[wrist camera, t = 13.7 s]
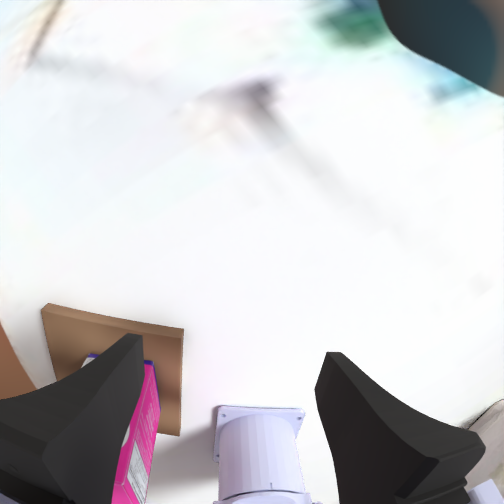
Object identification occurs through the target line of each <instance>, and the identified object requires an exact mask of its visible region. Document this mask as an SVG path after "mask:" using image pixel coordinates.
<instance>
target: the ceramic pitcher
mask: <svg viewBox="0 0 504 504" xmlns="http://www.w3.org/2000/svg"><path fill="white" fill-rule="evenodd" d="M468 430H470V431H474V432H476V433H477V434H478V435H479V437H480V438H481V440H482V441H483V443H484V444H485V446H486V451H485V454H484V455H483V457H482V458H481V460H480V461H479V462H478V463H477V464H476V466H475V467H474V468H473V469H472V470H471V471H470V472H469V473H468V474H467V475H466V476H465V479H466V480H467V482H468V483H467V485H466V486H465V487H464V488H465V490H466V492H467V491H469V490H470V489H472V488H473V487H475V486H477V485H479V484H481V483H483V482H485V481H487V480H489V479H492V480H493V482H494V484H495V485H496V487H497V489H498V490H499V492H500V494H501V495H502V497H503V499H504V399H503V400H501V401H498V402H496V403H494V404H493V406H492V407H491V408H490V409H489V410H488V411H487V412H486V413H485V414H483V415H482V416H481V417H480V418H479V419H478V420H477V421H476V422H475V423H474V424H473V425H472V426H471V427H470V428H469V429H468Z"/></svg>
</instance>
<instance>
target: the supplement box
mask: <svg viewBox="0 0 504 504" xmlns="http://www.w3.org/2000/svg"><path fill="white" fill-rule="evenodd" d="M97 356H99V355H97V354H90V353H89V354H88V357H87V358H86V360H85V362H84V363H83V365H82V367H83V366H85V365H86V364H88V363H89V362H91V361H92V360H93V359H95V358H96V357H97ZM82 367H81V368H82ZM144 367H145V378H144V382H143V386H142V390H141V394H140V398H139V400H138V403H137V406H136V408H135V411H134V414H133V416H132V419H131V421H130V424H129V427H128V429H127V432H126V435H125V438H124V441H123V444H122V447H121V452H120V456H119V461H118V466H117V471H116V477H115V482H114V489H113V496H112V504H145V500H146V493H147V486H148V480H149V474H150V468H151V461H152V455H153V450H154V444H155V439H156V433H157V428H158V423H159V417H160V412H161V407H160V401H159V394H158V387H157V380H156V374H155V367H154V362H153V361H149V360H144Z"/></svg>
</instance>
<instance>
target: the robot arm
mask: <svg viewBox="0 0 504 504" xmlns="http://www.w3.org/2000/svg"><path fill="white" fill-rule="evenodd" d="M144 378H145V367H144V353H143V336H142V335H138V334H132V333H127V334H125V335H124V336H123V337H122V338H120V339H119V340H118V341H117V342H115V343H114V344H113V345H112V346H110V347H109V348H108V349H107V350H105V351H104V352H103V353H101V354H100V355H99V356H97V357H96V358H95V359H93V360H92V361H91V362H89V363H88V364H86V365H85V366H83V367H82V368H80V369H79V370H77V371H75V372H74V373H72V374H70V375H69V376H67V377H65V378H63V379H61V380H59V381H57V382H55V383H53V384H50V385H48V386H45V387H43V388H41V389H38V390H36V391H33V392H30V393H27V394H23V395H19V396H16V397H12V398H7V399H1V400H0V504H112V496H113V489H114V482H115V477H116V471H117V466H118V461H119V456H120V452H121V447H122V444H123V441H124V438H125V435H126V432H127V429H128V427H129V424H130V421H131V419H132V416H133V414H134V411H135V408H136V406H137V403H138V400H139V398H140V394H141V390H142V386H143V382H144ZM315 396H316V403H317V408H318V412H319V416H320V419H321V422H322V425H323V428H324V431H325V434H326V438H327V441H328V444H329V447H330V450H331V453H332V457H333V461H334V467H335V473H336V479H337V486H338V493H339V503H340V504H504V499H503V497H502V495H501V494H500V492H499V490H498V489H497V487H496V485H495V484H494V482H493V480H492V479H489V480H487V481H485V482H483V483H481V484H479V485H477V486H475V487H473V488H472V489H470V490H469V491H467V492H466V490H465V488H464V487H465V486H466V485H467V483H468V482H467V480H466V479H465V476H466V475H467V474H468V473H469V472H470V471H471V470H472V469H473V468H474V467H475V466H476V464H477V463H478V462H479V461H480V460H481V458H482V457H483V455H484V454H485V451H486V446H485V444H484V443H483V441H482V440H481V438H480V437H479V435H478V434H477V433H476V432H474V431H470V430H466V429H462V428H458V427H454V426H451V425H448V424H446V423H443V422H440V421H438V420H435V419H433V418H431V417H429V416H427V415H425V414H423V413H420V412H418V411H417V410H415V409H413V408H411V407H410V406H408V405H406V404H405V403H403V402H401V401H400V400H398V399H397V398H395V397H394V396H393V395H391V394H390V393H389V392H387V391H386V390H385V389H383V388H382V387H381V386H379V385H378V384H377V383H376V382H375V381H373V380H372V379H371V378H370V377H369V376H368V375H366V374H365V373H364V372H363V371H362V370H361V369H360V368H358V367H357V366H356V365H355V364H354V363H353V362H352V361H351V360H350V359H348V358H347V357H346V356H345V355H344V354H342V353H341V352H327V353H326V356H325V359H324V362H323V365H322V368H321V371H320V374H319V377H318V380H317V383H316V386H315ZM223 414H224V415H223ZM304 417H305V411H304V410H303V409H266V408H245V407H230V406H221V407H219V408H218V414H217V424H216V434H215V444H214V454H213V461H214V462H218V463H219V493H218V501H214V502H213V504H322V503H321V502H314V503H312V500H311V495H310V493H306V489H305V484H304V479H303V474H302V469H301V464H300V459H299V454H298V450H297V445H296V437H297V435H298V432H299V430H300V427H301V425H302V422H303V419H304Z"/></svg>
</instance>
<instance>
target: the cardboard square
mask: <svg viewBox="0 0 504 504" xmlns="http://www.w3.org/2000/svg"><path fill="white" fill-rule="evenodd" d="M41 313H42V319H43V324H44V329H45V334H46V339H47V343H48V348H49V352H50V356H51V360H52V364H53V368H54V372H55V375H56V379H57V381H59V380H61V379H63V378H65V377H67V376H69V375H70V374H72V373H74V372H75V371H77V370H79V369H80V368H81V367H82V365H83V363H84V362H85V360H86V358H87V357H88V354H89V353H90V354H97V355H100V354H101V353H103V352H104V351H105V350H107V349H108V348H109V347H110V346H112V345H113V344H114V343H115V342H117V341H118V340H119V339H120V338H122V337H123V336H124V335H125V334H127V333H132V334H138V335H142V336H143V353H144V360H149V361H153V362H154V367H155V374H156V380H157V387H158V394H159V401H160V407H161V412H160V417H159V423H158V428H157V433H161V434H167V435H174V436H180V429H181V385H182V357H183V336H184V329H181V328H174V327H167V326H161V325H155V324H149V323H143V322H137V321H131V320H126V319H120V318H115V317H110V316H105V315H100V314H95V313H90V312H86V311H81V310H76V309H72V308H67V307H63V306H59V305H55V304H51V303H48V304H47V305H46V306H45V307H44V308H43V309H42V310H41Z"/></svg>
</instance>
